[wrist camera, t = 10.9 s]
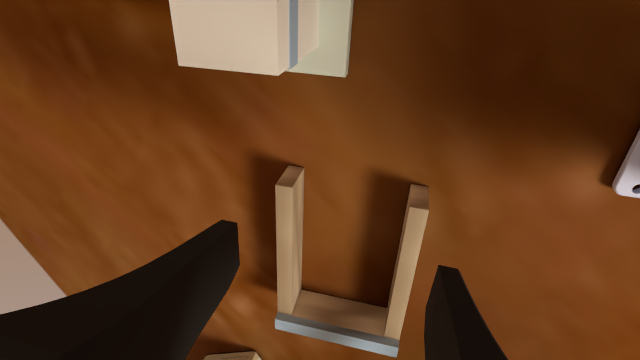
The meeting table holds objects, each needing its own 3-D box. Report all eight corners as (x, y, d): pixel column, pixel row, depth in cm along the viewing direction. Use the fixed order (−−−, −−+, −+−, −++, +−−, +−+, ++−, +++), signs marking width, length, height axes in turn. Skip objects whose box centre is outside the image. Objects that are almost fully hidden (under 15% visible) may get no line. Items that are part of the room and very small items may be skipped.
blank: (322, -49, 17) (277, -57, 11) (318, 47, 19) (279, 77, 13) (236, -52, 17) (158, -61, 12) (242, 41, 19) (177, 66, 14)
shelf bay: (428, 186, 22) (429, 216, 19) (398, 320, 27) (396, 357, 25) (288, 165, 23) (271, 190, 21) (288, 296, 29) (275, 328, 26)
